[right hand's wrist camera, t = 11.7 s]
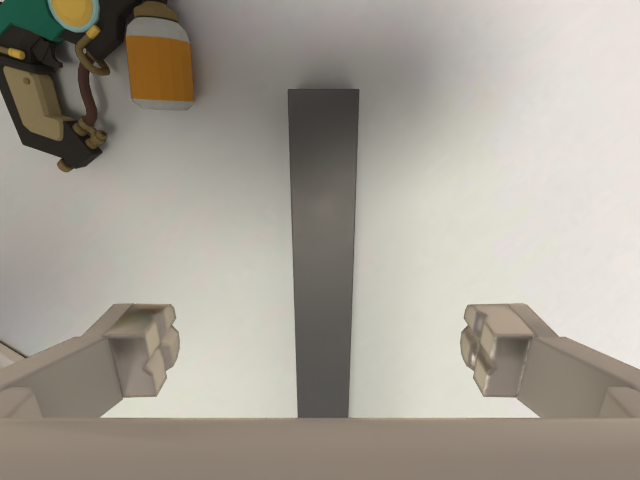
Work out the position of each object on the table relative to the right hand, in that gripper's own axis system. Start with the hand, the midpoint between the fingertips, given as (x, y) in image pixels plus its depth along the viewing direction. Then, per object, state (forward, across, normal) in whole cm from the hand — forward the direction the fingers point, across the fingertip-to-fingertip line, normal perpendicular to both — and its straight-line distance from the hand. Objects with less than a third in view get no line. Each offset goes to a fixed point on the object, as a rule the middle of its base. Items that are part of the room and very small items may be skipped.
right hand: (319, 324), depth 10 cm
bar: (+22, 0, -30) cm, 37 cm away
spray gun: (+23, -17, +9) cm, 30 cm away
